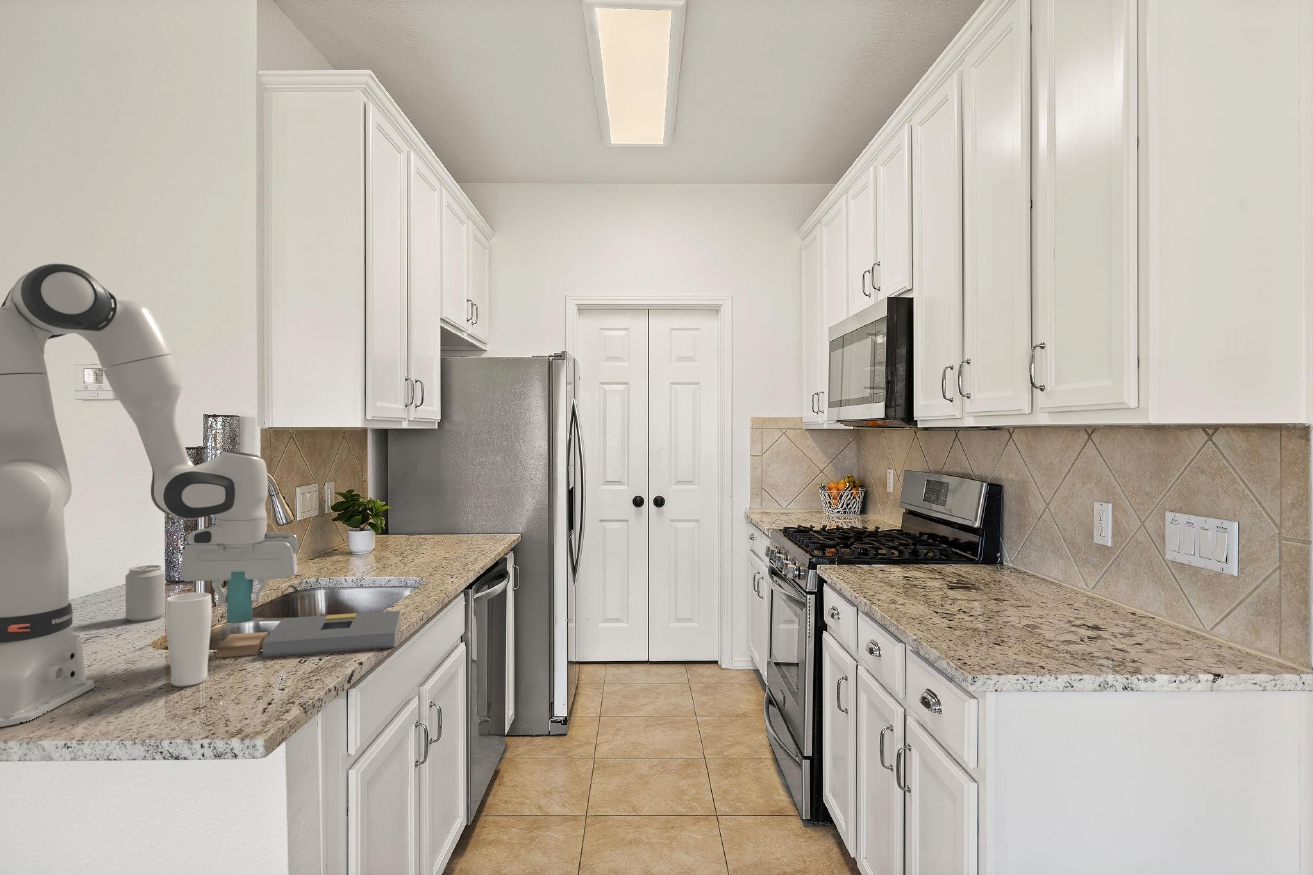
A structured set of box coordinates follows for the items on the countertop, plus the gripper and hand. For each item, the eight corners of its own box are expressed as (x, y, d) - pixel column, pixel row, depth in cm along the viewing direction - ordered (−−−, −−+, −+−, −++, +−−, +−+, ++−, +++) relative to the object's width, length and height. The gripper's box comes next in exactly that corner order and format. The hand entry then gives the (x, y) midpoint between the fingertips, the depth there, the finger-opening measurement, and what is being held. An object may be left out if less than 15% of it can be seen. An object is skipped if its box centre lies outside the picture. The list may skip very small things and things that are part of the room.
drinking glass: (159, 691, 120) (158, 602, 120) (174, 677, 127) (173, 593, 126) (205, 687, 122) (204, 599, 122) (217, 673, 129) (217, 591, 128)
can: (144, 623, 161) (144, 570, 161) (117, 621, 163) (116, 569, 162) (173, 615, 168) (173, 564, 168) (146, 613, 170) (146, 563, 170)
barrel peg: (248, 622, 141) (250, 571, 141) (223, 623, 139) (224, 572, 139) (254, 616, 145) (255, 567, 145) (230, 617, 144) (231, 568, 144)
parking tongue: (257, 654, 139) (257, 644, 139) (216, 657, 137) (216, 647, 137) (268, 641, 148) (268, 631, 148) (230, 644, 146) (230, 634, 146)
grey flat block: (394, 647, 144) (394, 631, 144) (262, 657, 137) (262, 640, 137) (400, 623, 161) (400, 609, 161) (283, 632, 155) (283, 616, 155)
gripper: (302, 529, 148) (300, 596, 148) (189, 531, 142) (187, 600, 142) (295, 534, 142) (293, 603, 142) (178, 535, 136) (176, 607, 136)
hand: (239, 601), depth 142 cm, fingers closed on barrel peg, 4 cm apart
